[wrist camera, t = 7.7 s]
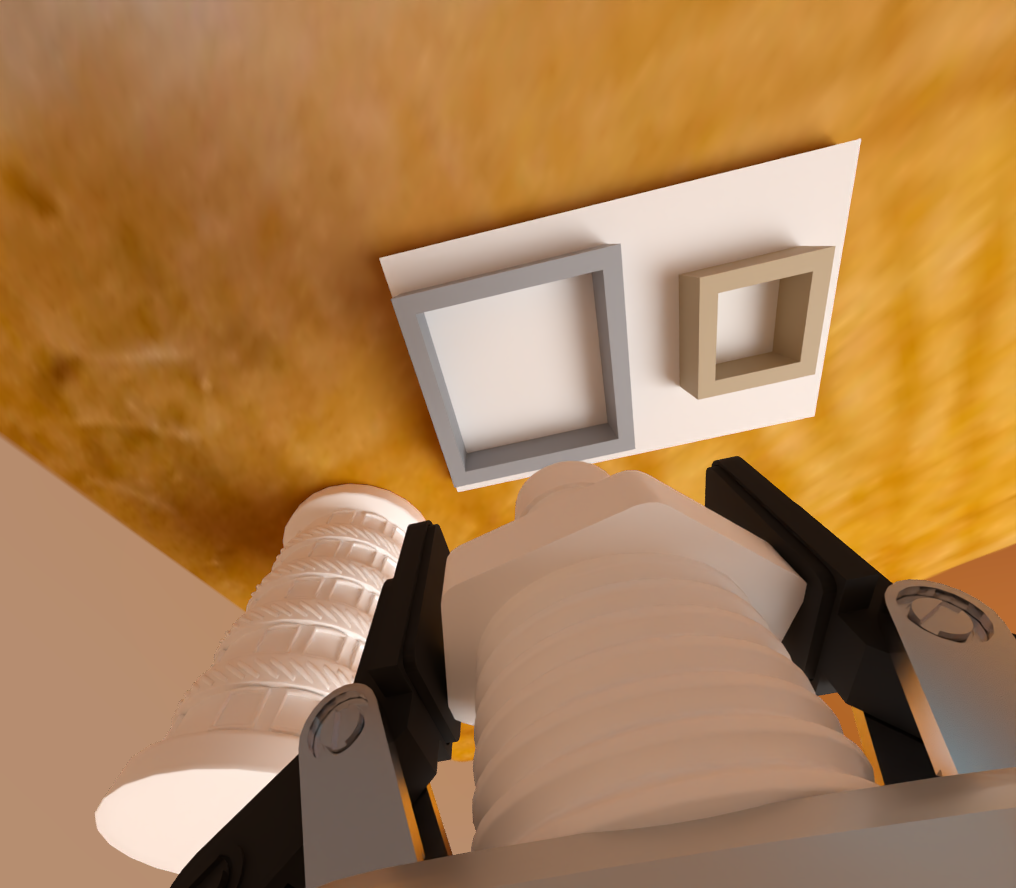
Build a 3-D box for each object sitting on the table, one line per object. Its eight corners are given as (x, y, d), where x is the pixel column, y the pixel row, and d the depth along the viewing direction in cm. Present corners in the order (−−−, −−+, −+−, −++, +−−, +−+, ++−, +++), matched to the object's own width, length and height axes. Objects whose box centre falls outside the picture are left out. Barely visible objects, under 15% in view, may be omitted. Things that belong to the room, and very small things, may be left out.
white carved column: (355, 608, 36) (251, 902, 20) (258, 526, 31) (14, 827, 15) (460, 556, 33) (437, 840, 17) (372, 458, 29) (229, 727, 13)
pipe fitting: (710, 529, 12) (1020, 922, 5) (511, 611, 14) (540, 1017, 6) (645, 355, 10) (1112, 680, 2) (405, 478, 11) (250, 928, 4)
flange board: (385, 257, 23) (366, 259, 19) (837, 145, 21) (908, 125, 18) (459, 481, 30) (455, 512, 26) (798, 408, 29) (843, 431, 25)
